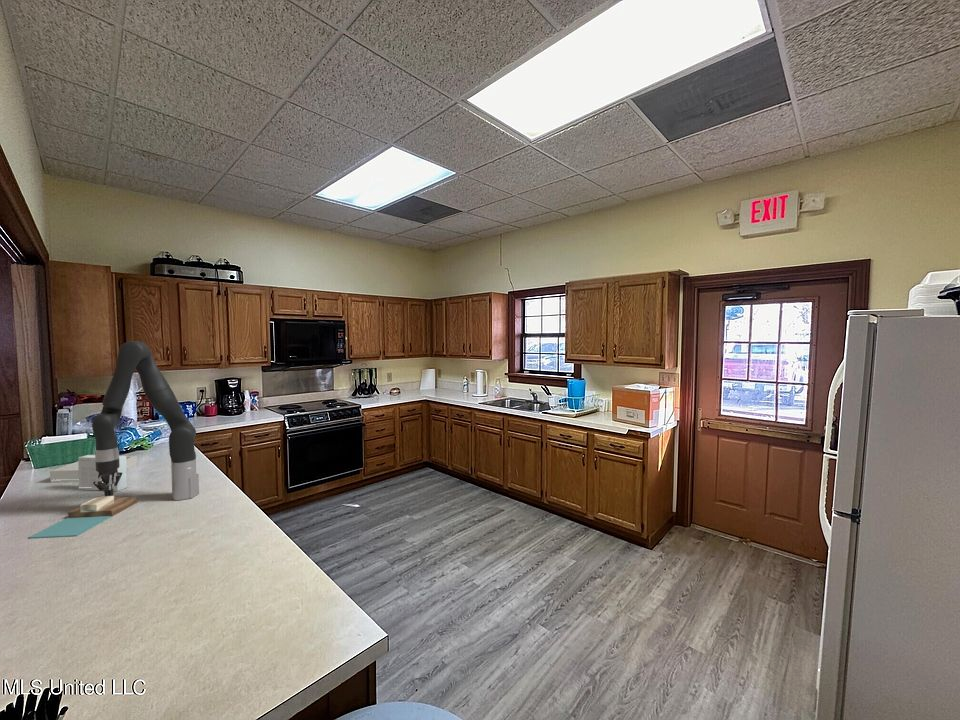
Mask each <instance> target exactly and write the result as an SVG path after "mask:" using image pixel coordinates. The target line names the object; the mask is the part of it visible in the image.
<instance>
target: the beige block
mask: <svg viewBox="0 0 960 720" xmlns="http://www.w3.org/2000/svg"><path fill="white" fill-rule="evenodd" d="M114 498H115V495H113V496H105V495H103V496H100V495H99V496H97V497H94V498H92V499H91V500H88V501H86V502H83V503H82V504H79V505H80V506H79V507H80V512H97V511H99V510H101V509H103V508H105V507H107V506H109V505H111V504H113V503H114Z"/></svg>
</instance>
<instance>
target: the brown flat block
mask: <svg viewBox="0 0 960 720" xmlns="http://www.w3.org/2000/svg"><path fill="white" fill-rule="evenodd" d="M137 499H138V498H137V496H132V497H131V496H130V497H129V496H128V497H114V503H113V504H111V505H109V506H107V507H105V508H103V509H101V510H99V511H97V512H80V506H78V507H77V508H74V509H73V510H70V511H68V512H67V514H68V515H67V516H68V517H67V518H78V517H101V516H111V517H114V516H116V515H117V514H119V513H121V512H123V511H124V510H126V509H128V508H130V507H132V506H133V505H135V504H137V502H138V500H137Z"/></svg>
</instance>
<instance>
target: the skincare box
mask: <svg viewBox="0 0 960 720" xmlns="http://www.w3.org/2000/svg"><path fill="white" fill-rule="evenodd" d="M126 456H127V455H119V465H120V467H119V468H118V472H122V476H121V478H120V480H119V482H118V484H117V486H114V489H113V492H119V491H122V490H124V489H127V487H128V484H127V483H128V480H127V478H128V476H127V473H128V471H127V464H126ZM77 459H78V460H77V461H78V477H79V482H78V490H81V491H100V490H99V489H98V488H97V487H96V486H95V485H94V484H93V482H94V481H97V480H98V475H99V472H97V471H96V463H95V454H87V455H83V456H78V457H77ZM79 487H92V488H79ZM101 491H102V492H104V490H101Z"/></svg>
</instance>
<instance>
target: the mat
mask: <svg viewBox="0 0 960 720" xmlns="http://www.w3.org/2000/svg"><path fill="white" fill-rule="evenodd" d="M110 518H112V516H101V517H78V518H68V517H66V518H64V519H63V520H61V521H58V522H57V523H54V524H52V525H50V526H48V527H46V528H44V529H42V530H40V531H38V532H35V533H34V534H32V535H30V536H28V537H27V539H40V538H41V539H44V538H45V539H47V538H64V537H78V536H80V535H81V534H82V535H83V533H85V532H87V531H88V530H90V529H92V528H94V527H96V526H98V525H99V524H102V523H103V522H104V521H107V520H108V519H110Z"/></svg>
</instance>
